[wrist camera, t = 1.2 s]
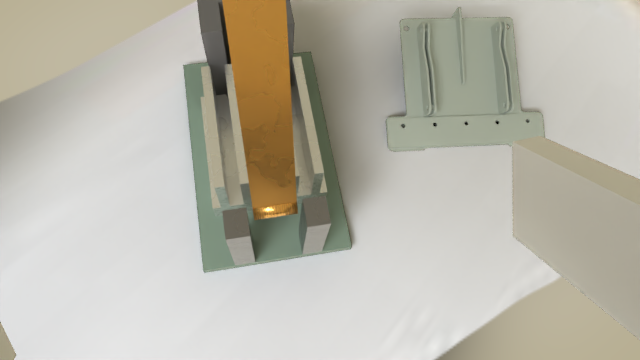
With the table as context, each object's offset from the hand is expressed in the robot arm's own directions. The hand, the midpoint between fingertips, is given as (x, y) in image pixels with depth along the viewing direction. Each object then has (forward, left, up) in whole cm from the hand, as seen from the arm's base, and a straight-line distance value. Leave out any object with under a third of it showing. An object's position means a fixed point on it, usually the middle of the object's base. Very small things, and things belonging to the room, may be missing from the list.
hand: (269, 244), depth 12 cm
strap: (+1, +12, -14) cm, 18 cm away
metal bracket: (+21, +20, -29) cm, 41 cm away
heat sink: (+1, +13, -27) cm, 30 cm away
